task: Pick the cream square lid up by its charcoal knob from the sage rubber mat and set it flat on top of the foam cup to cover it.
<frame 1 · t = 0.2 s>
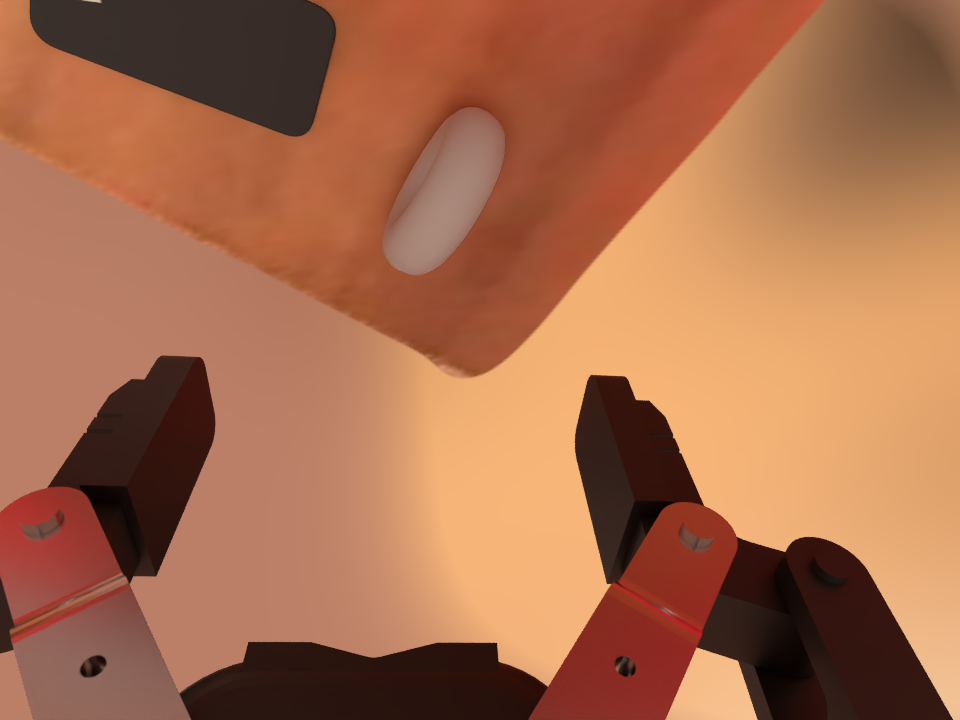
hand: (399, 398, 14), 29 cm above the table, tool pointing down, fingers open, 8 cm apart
phone: (190, 24, 35), on the table
donut: (441, 162, 40), on the table
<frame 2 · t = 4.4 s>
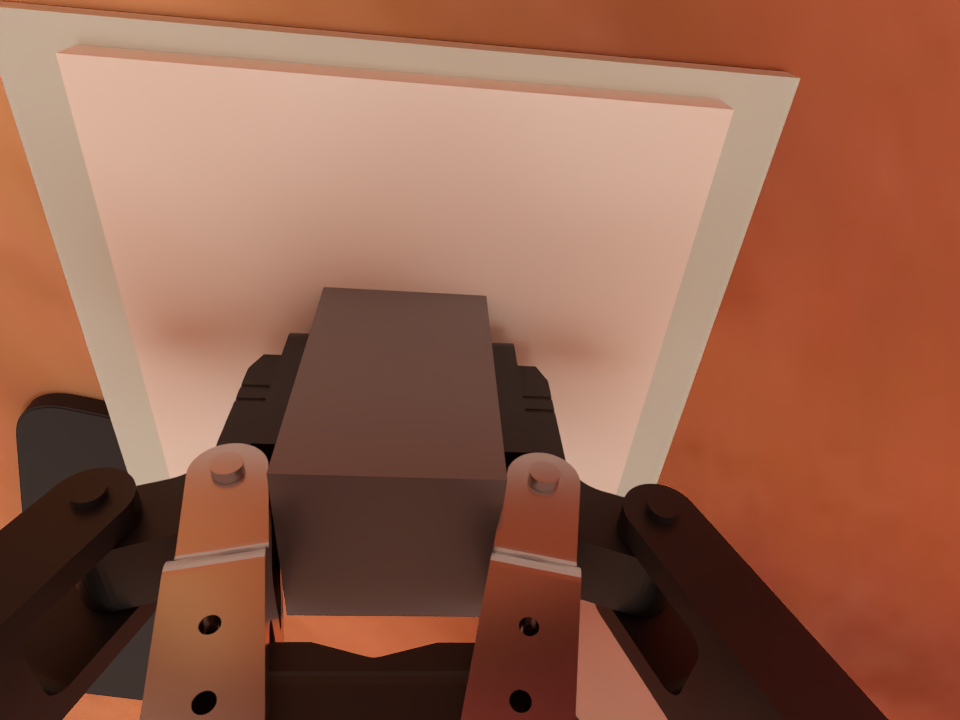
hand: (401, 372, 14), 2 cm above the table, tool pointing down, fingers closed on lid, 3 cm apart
phone: (159, 565, 22), on the table
foam cup: (604, 634, 25), on the table
lid: (405, 338, 15), point 1 cm above the table, touching gripper, mat
mat: (406, 324, 16), on the table
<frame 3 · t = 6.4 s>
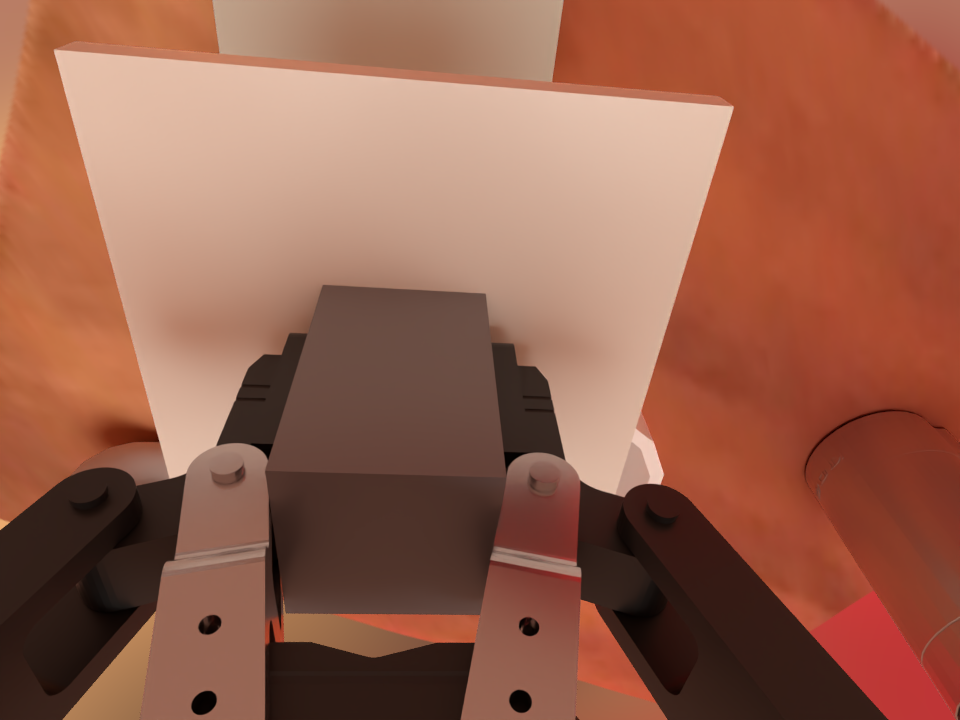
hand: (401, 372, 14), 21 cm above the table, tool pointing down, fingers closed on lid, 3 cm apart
foam cup: (522, 326, 39), on the table
donut: (180, 450, 43), on the table
lid: (405, 336, 15), point 19 cm above the table, touching gripper
mat: (390, 70, 30), on the table
when the fingers open (16 cm above the table, at t = 8.9 s): lid drops 1 cm, resting on foam cup.
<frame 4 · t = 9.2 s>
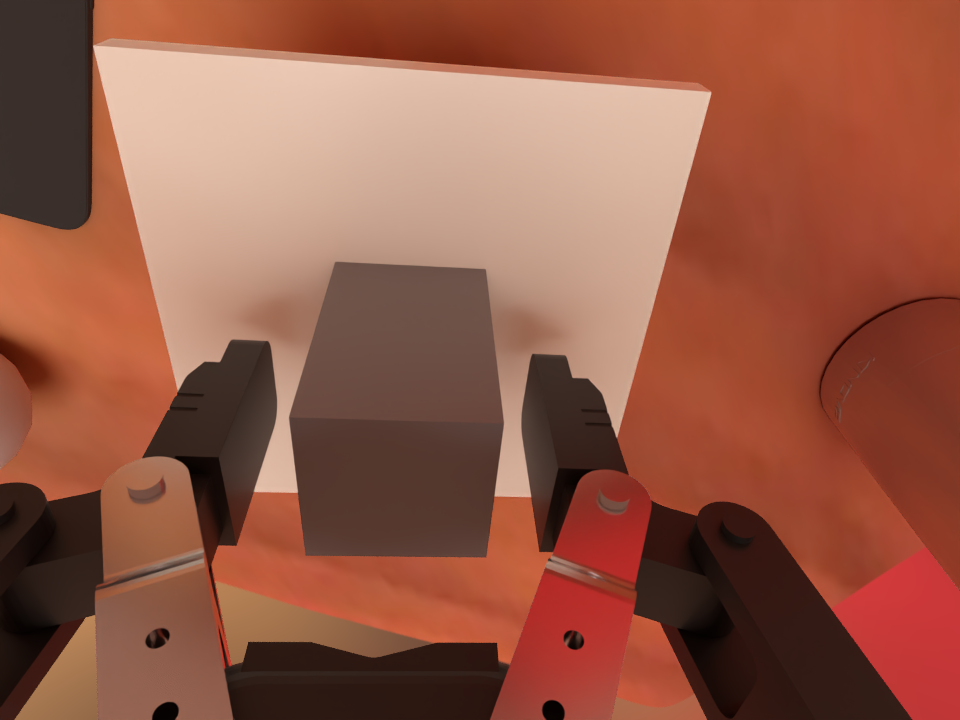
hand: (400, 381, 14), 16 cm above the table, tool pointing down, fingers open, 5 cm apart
lid: (411, 311, 17), point 13 cm above the table, touching foam cup
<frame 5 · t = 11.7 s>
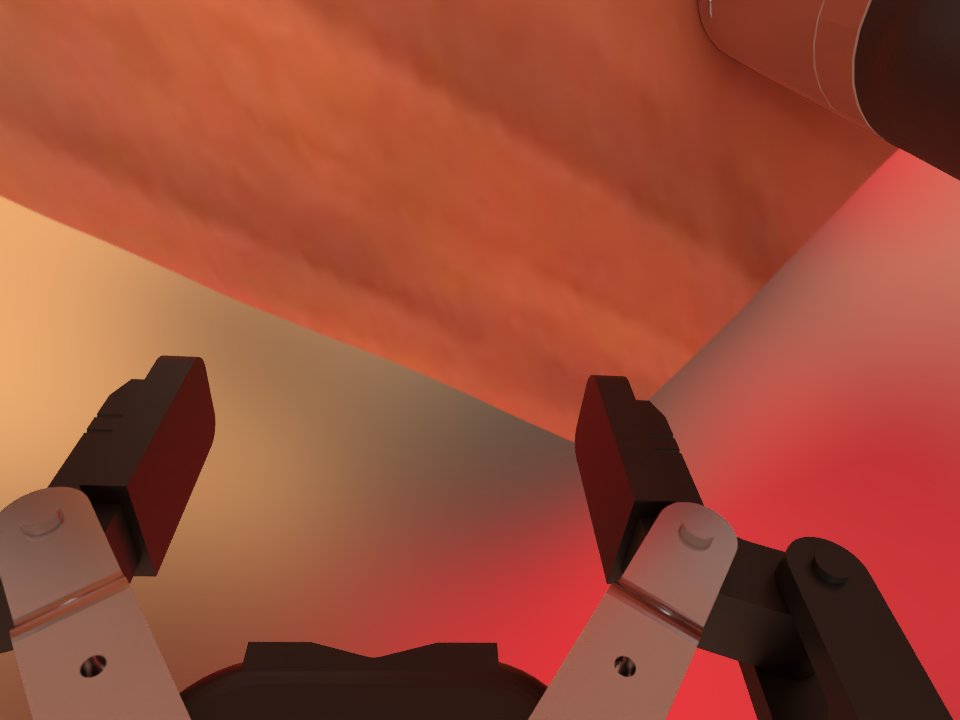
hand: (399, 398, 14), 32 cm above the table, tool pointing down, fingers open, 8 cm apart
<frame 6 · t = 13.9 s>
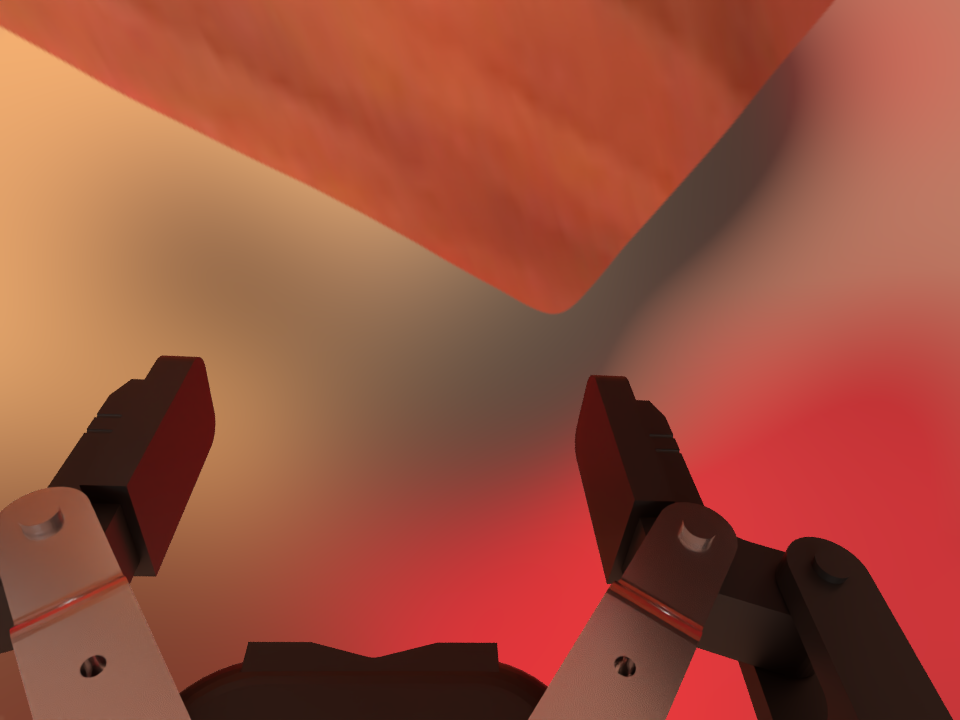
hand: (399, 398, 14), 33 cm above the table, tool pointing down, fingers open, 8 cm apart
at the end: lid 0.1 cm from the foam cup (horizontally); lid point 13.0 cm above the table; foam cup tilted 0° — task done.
